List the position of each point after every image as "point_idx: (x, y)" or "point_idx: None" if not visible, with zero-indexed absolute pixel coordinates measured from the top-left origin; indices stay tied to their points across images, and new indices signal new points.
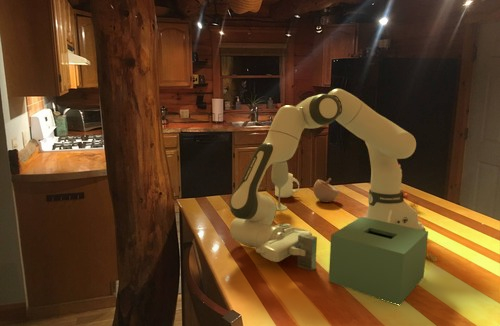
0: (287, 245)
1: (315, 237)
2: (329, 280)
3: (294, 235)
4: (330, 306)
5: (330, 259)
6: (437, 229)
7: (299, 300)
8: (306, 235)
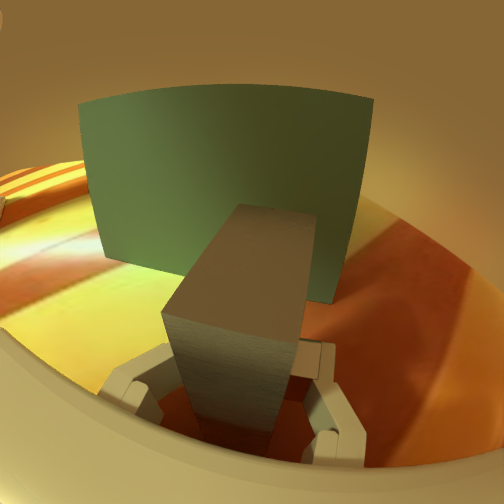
0: (392, 480)
1: (254, 207)
2: (332, 298)
3: (32, 469)
4: (438, 274)
5: (353, 219)
6: (11, 191)
7: (480, 332)
8: (239, 261)
